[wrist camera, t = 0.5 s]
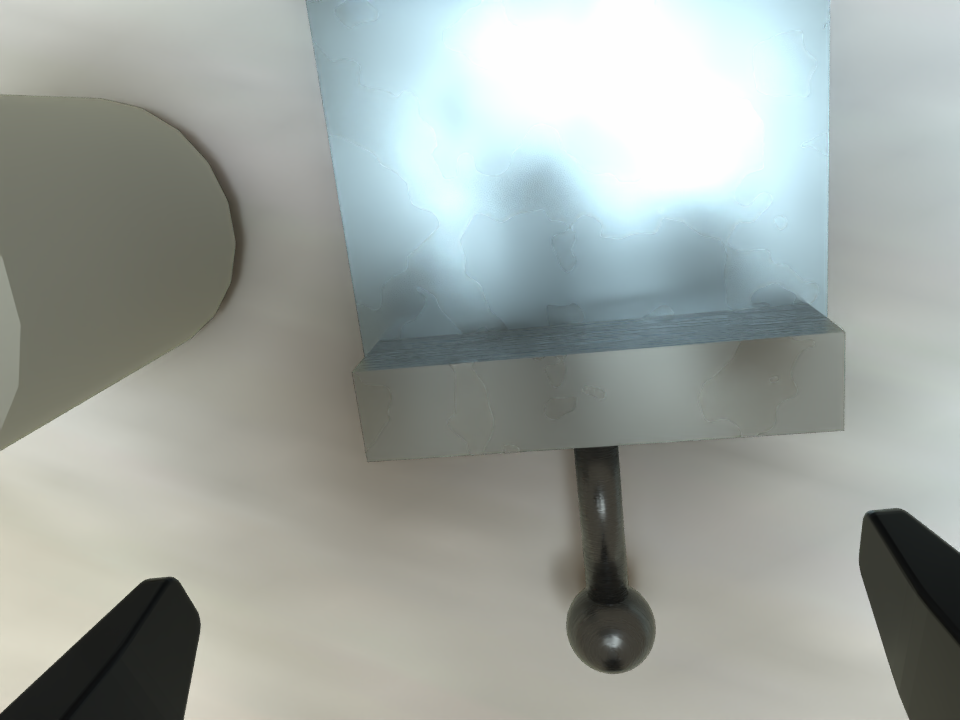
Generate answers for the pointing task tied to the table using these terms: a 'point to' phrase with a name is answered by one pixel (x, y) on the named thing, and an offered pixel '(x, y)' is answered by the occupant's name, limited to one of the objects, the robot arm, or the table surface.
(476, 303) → the vise
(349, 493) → the table surface
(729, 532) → the table surface
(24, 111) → the can
